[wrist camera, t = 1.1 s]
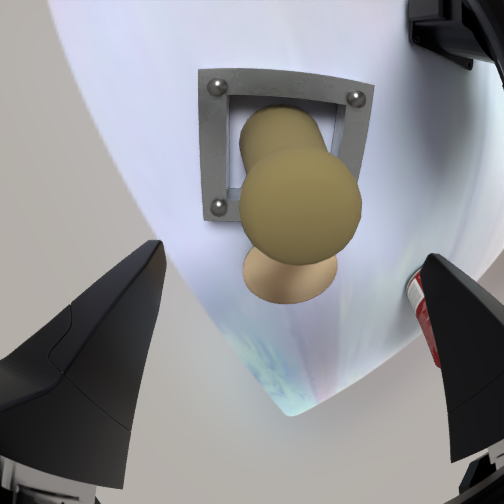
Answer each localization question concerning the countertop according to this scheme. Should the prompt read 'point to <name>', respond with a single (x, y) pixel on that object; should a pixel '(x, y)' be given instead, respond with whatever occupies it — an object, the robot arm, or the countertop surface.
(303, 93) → the grey square frame
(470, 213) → the countertop surface
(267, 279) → the cork coaster
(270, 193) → the pepper shaker
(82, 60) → the countertop surface
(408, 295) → the soda can
